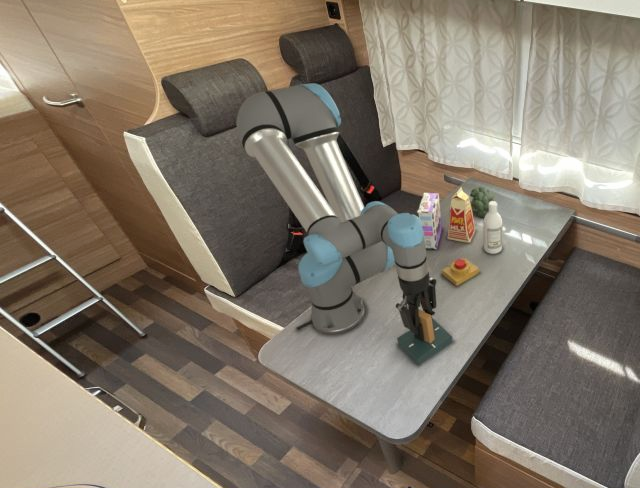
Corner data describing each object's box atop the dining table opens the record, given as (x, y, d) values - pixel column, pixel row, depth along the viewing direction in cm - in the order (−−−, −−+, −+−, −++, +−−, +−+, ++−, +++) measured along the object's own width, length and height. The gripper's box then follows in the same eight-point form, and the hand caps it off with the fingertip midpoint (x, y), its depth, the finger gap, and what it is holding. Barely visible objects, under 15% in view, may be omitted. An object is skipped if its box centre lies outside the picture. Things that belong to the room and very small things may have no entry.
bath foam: (505, 249, 152) (507, 204, 139) (491, 256, 148) (491, 210, 135) (494, 240, 156) (494, 195, 143) (480, 247, 152) (479, 202, 139)
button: (459, 270, 137) (459, 266, 135) (452, 265, 138) (452, 261, 137) (467, 266, 139) (467, 262, 137) (461, 261, 140) (460, 257, 139)
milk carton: (469, 242, 154) (467, 197, 141) (446, 239, 156) (442, 194, 142) (475, 229, 161) (474, 185, 148) (453, 226, 162) (450, 181, 149)
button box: (456, 286, 136) (456, 277, 133) (442, 274, 140) (441, 265, 138) (479, 273, 141) (478, 264, 139) (464, 262, 146) (464, 253, 143)
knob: (434, 339, 115) (431, 314, 108) (430, 343, 114) (426, 319, 107) (418, 330, 117) (414, 306, 110) (414, 334, 116) (409, 310, 109)
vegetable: (467, 196, 176) (497, 186, 170) (473, 224, 175) (503, 215, 169) (452, 191, 165) (484, 180, 159) (458, 221, 164) (490, 212, 158)
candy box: (437, 249, 151) (433, 212, 140) (421, 249, 151) (416, 211, 140) (442, 228, 161) (439, 192, 150) (428, 227, 161) (423, 191, 150)
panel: (418, 366, 112) (417, 359, 109) (398, 344, 117) (396, 337, 115) (452, 342, 118) (451, 335, 116) (431, 323, 123) (430, 316, 121)
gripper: (423, 250, 106) (432, 311, 121) (377, 285, 95) (393, 347, 111) (445, 260, 103) (451, 321, 118) (401, 298, 92) (414, 359, 108)
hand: (423, 334), depth 115 cm, fingers open, 3 cm apart
